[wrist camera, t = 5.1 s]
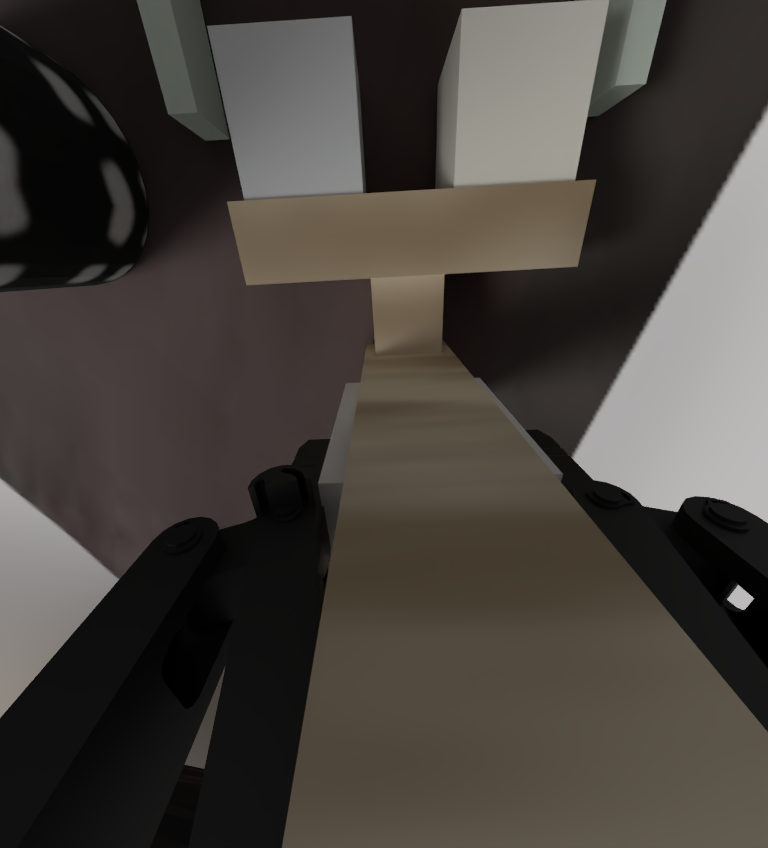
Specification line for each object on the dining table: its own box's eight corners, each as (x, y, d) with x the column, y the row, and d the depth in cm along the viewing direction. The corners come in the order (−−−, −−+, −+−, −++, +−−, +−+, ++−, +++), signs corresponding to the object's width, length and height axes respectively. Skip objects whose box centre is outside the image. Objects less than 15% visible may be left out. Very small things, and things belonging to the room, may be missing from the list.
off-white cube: (524, 204, 14) (574, 182, 10) (434, 209, 14) (453, 190, 10) (540, 78, 12) (609, -2, 8) (437, 84, 12) (461, 8, 8)
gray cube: (367, 213, 14) (363, 195, 10) (279, 218, 14) (244, 202, 10) (359, 89, 12) (351, 16, 8) (257, 96, 12) (206, 25, 8)
